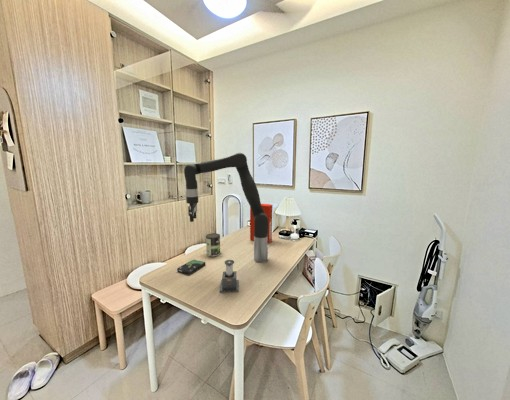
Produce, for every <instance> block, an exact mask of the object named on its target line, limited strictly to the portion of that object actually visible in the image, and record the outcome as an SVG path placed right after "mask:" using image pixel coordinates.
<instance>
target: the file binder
mask: <svg viewBox="0 0 510 400" xmlns="http://www.w3.org/2000/svg"><path fill="white" fill-rule="evenodd" d="M261 206H262V208H263V210H264V212H265V214H266V216H267V218H268V236H267V244H270V243H271V242H272V240H273V204H271V203H270V204H269V203H261ZM249 208H250V209H249V217H250V218H249V219H250V221H249V241H251V242H254V217H253V213H252V209H251V207H250V206H249Z"/></svg>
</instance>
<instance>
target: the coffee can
mask: <svg viewBox="0 0 510 400" xmlns="http://www.w3.org/2000/svg"><path fill="white" fill-rule="evenodd" d="M205 241H206V242H205V243H206V244H205V245H206V250H205V251H206V256H208V257H217V256H220V255H221V234H220V233H214V232H213V233H211V232H210V233H207V234H206V235H205Z"/></svg>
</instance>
